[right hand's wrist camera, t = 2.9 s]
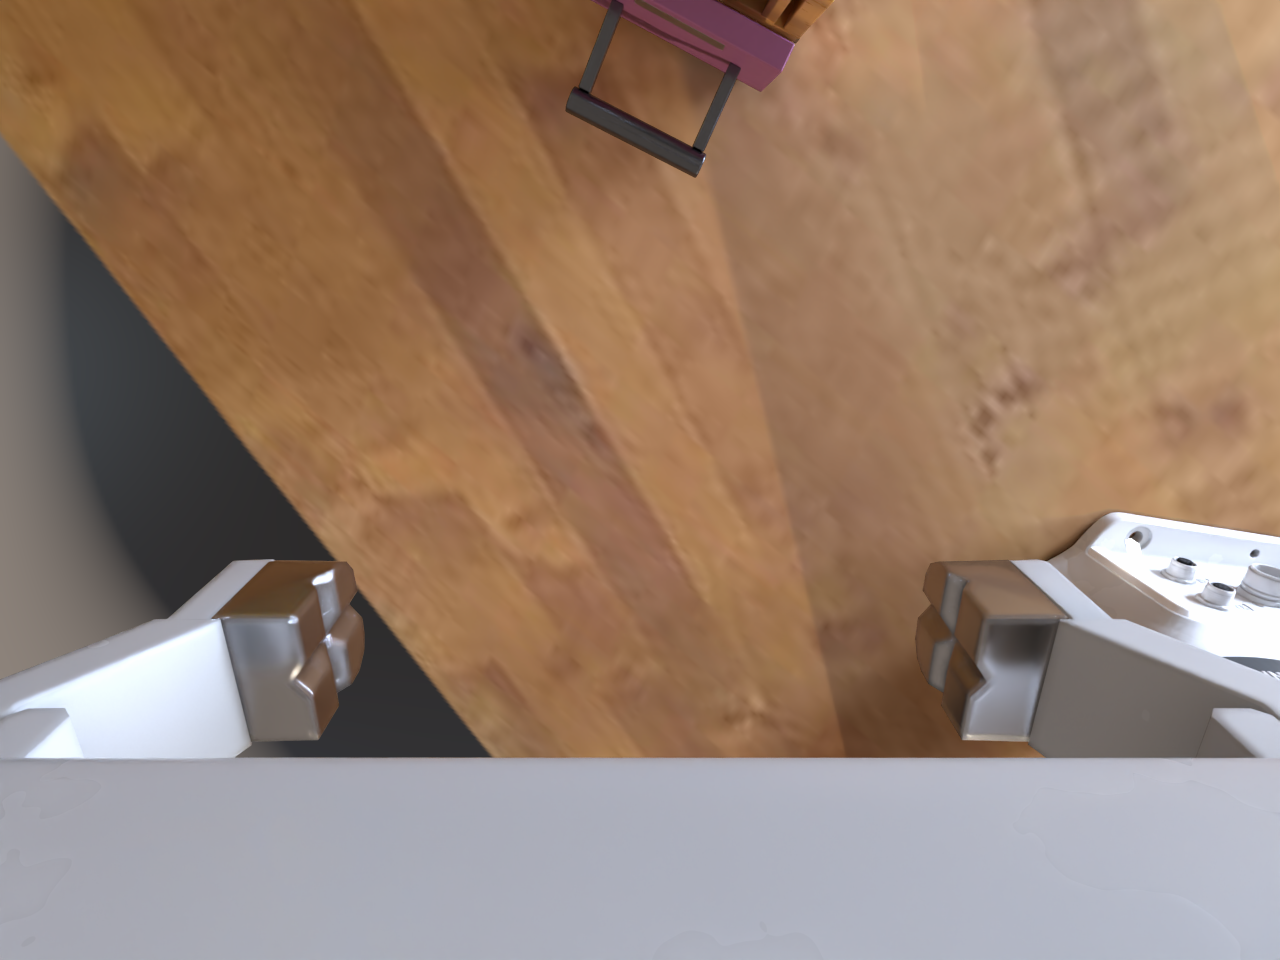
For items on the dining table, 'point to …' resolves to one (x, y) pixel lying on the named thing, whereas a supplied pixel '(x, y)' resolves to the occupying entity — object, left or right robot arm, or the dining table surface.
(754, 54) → the drawer
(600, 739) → the dining table surface
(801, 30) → the cabinet
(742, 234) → the dining table surface
